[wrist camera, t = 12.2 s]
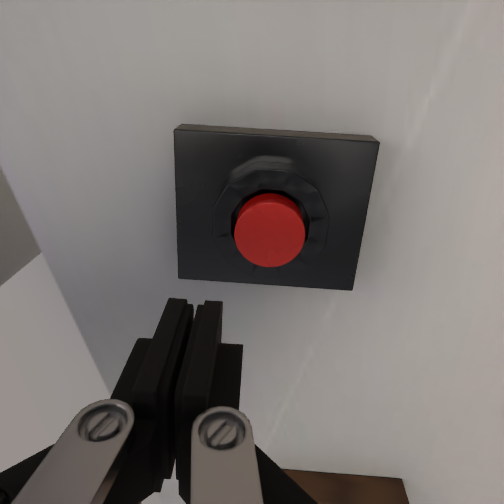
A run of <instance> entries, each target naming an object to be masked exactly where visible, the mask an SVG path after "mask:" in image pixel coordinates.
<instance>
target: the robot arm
mask: <svg viewBox="0 0 504 504" xmlns="http://www.w3.org/2000/svg"><path fill="white" fill-rule="evenodd" d="M222 310H223V302H222V301H207V300H205V303H204V305H198V306H197V310H196V314H195V317H194V308H193V304H188V303H187V299H177V298H169V299H168V301H167V304H166V306H165V309H164V311H163V314H162V316H161V319H160V321H159V324H158V326H157V329H156V331H155V334H154V336H153V339H150V338H139V339H137V341H136V343H135V345H134V347H133V349H132V352H131V354H130V356H129V358H128V360H127V363H126V365H125V367H124V369H123V371H122V373H121V376H120V378H119V380H118V382H117V384H116V387H115V389H114V391H113V393H112V395H111V398H110V399H105V400H100V401H97V402H94V403H92V404H89V405H88V406H86V407H85V408H83V409H82V410H81V411H80V412H79V413H78V414H77V415H76V416H75V417H74V419H73V420H72V421H71V423H70V424H69V425H68V427H67V428H66V429H65V431H64V432H63V433H62V435H61V436H60V438H59V439H58V440H57V442H56V443H55V444H53V445H51V446H49V447H48V448H46V449H44V450H42V451H40V452H38V453H36V454H35V455H33V456H31V457H29V458H27V459H25V460H23V461H22V462H20V463H18V464H16V465H14V466H12V467H10V468H9V469H7V470H5V471H3V472H1V473H0V504H141V501H143V500H144V499H145V498H147V497H148V496H149V495H151V494H152V493H154V492H161V488H162V484H163V480H164V479H170V478H171V476H172V472H173V467H174V463H175V458H176V479H177V480H179V495H180V496H181V498H182V499H183V500H184V501H185V503H186V504H318V503H317V502H316V501H315V500H314V499H313V498H312V497H311V496H310V495H309V494H308V493H306V492H305V491H304V490H303V489H302V488H301V487H300V486H299V485H298V484H297V483H296V482H295V481H294V480H293V479H292V478H290V477H289V476H288V475H287V474H286V473H285V472H284V471H283V470H282V469H281V468H280V467H279V466H278V465H277V464H276V463H274V462H273V461H272V460H271V459H270V458H269V457H268V456H267V455H266V454H265V453H264V452H263V451H262V450H261V449H260V448H258V447H257V446H256V445H255V444H254V438H253V432H252V427H251V424H250V421H249V419H248V418H247V417H246V416H245V414H243V413H242V412H240V411H239V400H240V385H241V370H242V355H243V345H241V344H226V343H221V337H222Z"/></svg>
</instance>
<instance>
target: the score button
mask: <svg viewBox="0 0 504 504" xmlns="http://www.w3.org/2000/svg"><path fill="white" fill-rule="evenodd" d="M234 238H235V243H236V246H237V248H238V250H239V251H240V253H241V254H242V255H243V256H244V257H245V258H246V259H247V260H249V261H250V262H252V263H254V264H256V265H259V266H263V267H277V266H281V265H284V264H286V263H288V262H290V261H291V260H293V259H294V258H295V257H296V256H297V255H298V254H299V252H300V251H301V249H302V247H303V245H304V241H305V227H304V222H303V217H302V214H301V211H300V210H299V208H298V207H297V205H296V204H295V203H294V202H293V201H292V200H290V199H289V198H287V197H285V196H283V195H280V194H275V193H265V194H260V195H257V196H255V197H253V198H251V199H250V200H248V201H247V202H246V203H245V204H244V205H243V207H242V208H241V210H240V211H239V214H238V217H237V221H236V226H235V231H234Z"/></svg>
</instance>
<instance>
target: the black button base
mask: <svg viewBox="0 0 504 504" xmlns="http://www.w3.org/2000/svg"><path fill="white" fill-rule="evenodd" d="M379 144H380V142H379V141H377V140H376V139H375V138H374V137H372V136H369V135H352V134H336V133H320V132H303V131H287V130H271V129H254V128H238V127H222V126H205V125H189V124H181V125H180V126H178V127H177V128H175V129H174V157H175V189H176V222H177V254H178V278H179V279H193V280H207V281H221V282H236V283H250V284H264V285H279V286H293V287H307V288H322V289H336V290H350V291H352V290H353V285H354V280H355V274H356V269H357V263H358V258H359V253H360V247H361V242H362V236H363V231H364V225H365V220H366V215H367V209H368V204H369V198H370V193H371V188H372V182H373V177H374V171H375V166H376V161H377V155H378V150H379ZM265 193H275V194H280V195H283V196H285V197H287V198H289V199H290V200H292V201H293V202H294V203H295V204H296V205H297V207H298V208H299V210H300V211H301V214H302V217H303V222H304V227H305V241H304V245H303V247H302V249H301V251H300V252H299V254H298V255H297V256H296V257H295V258H294V259H293V260H291V261H290V262H288V263H286V264H284V265H281V266H277V267H263V266H259V265H256V264H254V263H252V262H250V261H249V260H247V259H246V258H245V257H244V256H243V255H242V254H241V253H240V251H239V250H238V248H237V246H236V243H235V238H234V231H235V226H236V221H237V217H238V214H239V211H240V210H241V208H242V207H243V205H244V204H245V203H246V202H247V201H248V200H250V199H251V198H253V197H255V196H257V195H260V194H265Z"/></svg>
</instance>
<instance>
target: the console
mask: <svg viewBox="0 0 504 504" xmlns="http://www.w3.org/2000/svg"><path fill="white" fill-rule="evenodd" d="M282 470H283V469H282ZM283 471H284V472H285V473H286V474H287V475H288V476H289V477H290V478H292V479H293V480H294V481H295V482H296V483H297V484H298V485H299V486H300V487H301V488H302V489H303V490H304V491H305V492H306V493H308V494H309V495H310V496H311V497H312V498H313V499H314V500H315V501H316V502H317V503H318V504H409V501H408V498H407V494H406V491H405V488H404V485H403V481H402V479H396V478H383V477H371V476H358V475H346V474H333V473H321V472H308V471H296V470H283Z"/></svg>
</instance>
